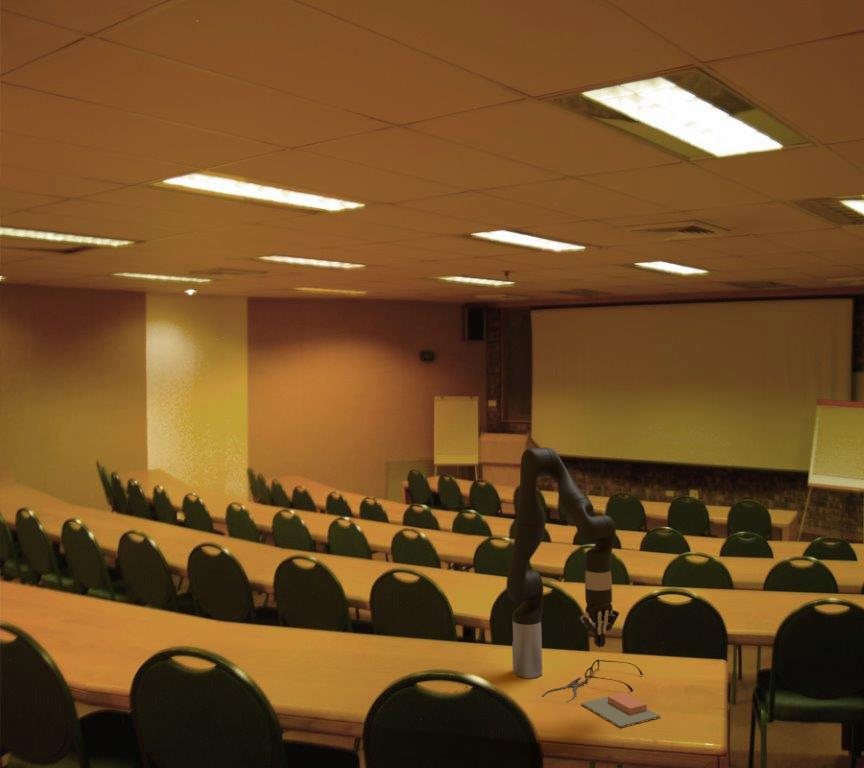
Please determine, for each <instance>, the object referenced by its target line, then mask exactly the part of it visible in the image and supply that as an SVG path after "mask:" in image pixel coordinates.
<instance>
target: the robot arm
mask: <svg viewBox="0 0 864 768" xmlns="http://www.w3.org/2000/svg"><path fill="white" fill-rule="evenodd" d="M519 470H520V471H519V472H520V474H519V476H520V477H519V496H518V497H519V498H518V508H517V512H516V513H517V514H516V523H515V529H514V530H515V531H514V532H515V533H514V540H513V549H512V554H511V560H510V564H509V568H508V573H507V577H506V592H507V596H508V598H509V599H510V601H512V602H515V603H520V602H521V604H520V605H519V606H518V607H517V608H516V609H514V610H513V612H512V642H511V647H512V648H511V650H512V651H511V652H512V671H513V674H514V675H515V677H518V678H524V679H535V678H539V677H541V676H542V675H543V649H542V648H543V647H542V645H543V644H542V641H543V639H542V615H543V612H544V611H543V610H544V582H543V579H542V577H541V574H540V573H539V572H538V571H537V570H534V569H529V570H528V566H529V564H530V560H531V559H532V557H533V556H534V554H535V553H536V551H537V549H539V548H540V546H541V543H542V541H543V539H544V536H545V529H546V520H547V518H546V514H545V511H544V508H543V506H542V504H541V502H540V500H539V497H538V494H537V483H538V478H544V477H550V478H551V479H553V480H554V482H556V484H557V489H558V491H557V492H558V494H557V495H558V499H559V502H560V504H561V506H562V507H563V508H564V509H565V511H566V512H567V513H568V514H569V516H570V517H571V518H572V521H573V523H574V525H575V528H576V529H577V533H578V535H579V536H580V538H582V540H584V541H586V542H587V543H594V542H595V545H594V546H593V547H592V548H589V549H588V550H587V551H586V552H585V557H584V558H585V573H584V575H585V576H584V588H585V589H584V593H585V596H584V597H585V603H586V607H585V612H584V613H583V614H582V615H579V616H578V619H579V621H580V622H581V623H582V625H583V626H584V627H585V629H586V630H587V631H588V632H590V633H592V634H593V637H594V638H593V639H594V640H593V642H594V645H595V646H596V647H598V648H603V647H605V645H606V634H607V632H608V631H611V630H612V628H613V627H614V624H615V623H616V621H617V619H618V617H619V616H620V612H619V611H617V610H615V609H613V605H612V603H613V584H612V583H613V580H612V572H611V555H612V551H613V546H614V543H615V538H616V532H617V531H616V524H615V521H614V519H613V518H611V516H609V515H606V514H604V515H603V514H602V515H597V516H595V515H594V516H592V515H593V514H594V506H593V504H592V502H591V501H590V500H589V499H588V498H587V497H586V495H585V494H584V492H582V491H581V489H580V488H579V487H578V486H577V484H576V483H575V481H574V480H573V478H572V476H571V475H570V473H569V471H568V469H567V467H566V466H565V464H564V462H563V461H562V459H561V457H560V456H559V454H558V453H557V452H556V451H555V449H553V448H552V447H545V446H544V447H533V448H532V447H531V448H527V449H525V450H524V451H523V453H522V455H521V459H520V469H519Z"/></svg>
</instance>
